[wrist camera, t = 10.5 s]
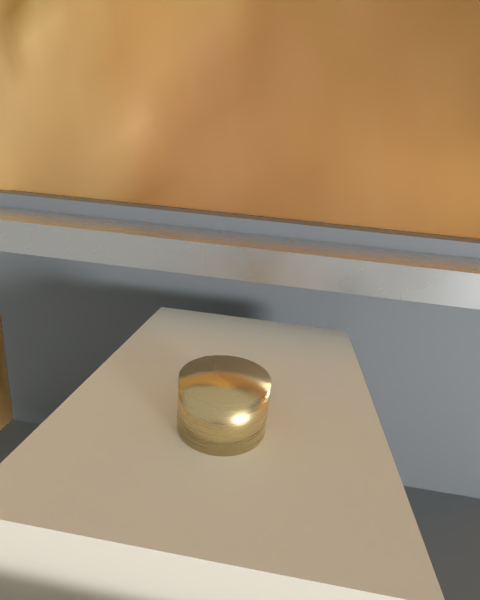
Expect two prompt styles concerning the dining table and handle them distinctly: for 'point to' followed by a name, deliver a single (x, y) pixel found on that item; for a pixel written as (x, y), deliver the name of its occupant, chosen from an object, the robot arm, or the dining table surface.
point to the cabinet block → (213, 475)
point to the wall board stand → (263, 306)
